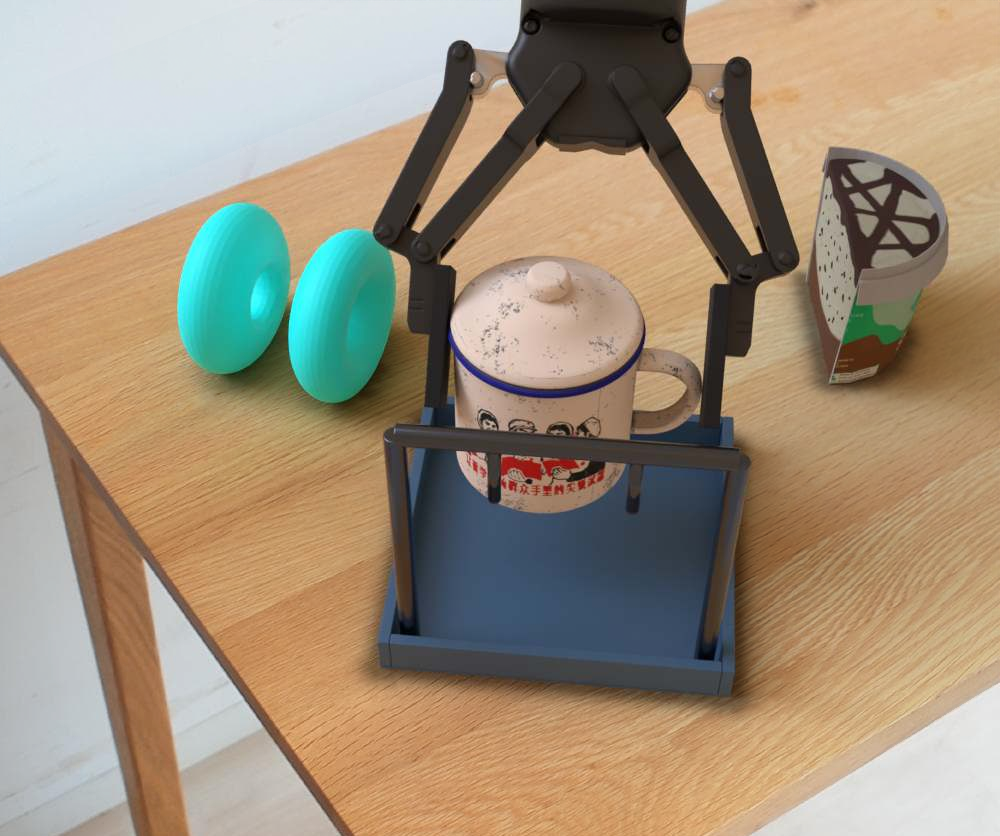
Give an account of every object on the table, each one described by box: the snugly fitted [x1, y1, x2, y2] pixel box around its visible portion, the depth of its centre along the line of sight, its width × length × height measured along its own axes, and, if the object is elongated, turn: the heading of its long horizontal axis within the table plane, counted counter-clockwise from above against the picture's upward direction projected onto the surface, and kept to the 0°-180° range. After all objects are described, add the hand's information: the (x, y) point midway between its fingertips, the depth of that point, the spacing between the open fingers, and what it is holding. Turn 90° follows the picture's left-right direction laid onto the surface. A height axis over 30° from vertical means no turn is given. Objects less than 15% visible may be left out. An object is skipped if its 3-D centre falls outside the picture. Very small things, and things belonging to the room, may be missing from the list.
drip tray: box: [376, 395, 736, 698], centre depth 76 cm, size 17×17×3 cm
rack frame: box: [382, 422, 753, 661], centre depth 66 cm, size 15×1×16 cm, turn 84°
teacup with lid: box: [448, 255, 703, 513], centre depth 68 cm, size 12×9×12 cm
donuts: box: [176, 202, 397, 404], centre depth 83 cm, size 10×10×10 cm
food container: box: [805, 145, 950, 386], centre depth 85 cm, size 12×6×10 cm, turn 0°
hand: (571, 418), depth 67 cm, fingers closed on teacup with lid, 12 cm apart
